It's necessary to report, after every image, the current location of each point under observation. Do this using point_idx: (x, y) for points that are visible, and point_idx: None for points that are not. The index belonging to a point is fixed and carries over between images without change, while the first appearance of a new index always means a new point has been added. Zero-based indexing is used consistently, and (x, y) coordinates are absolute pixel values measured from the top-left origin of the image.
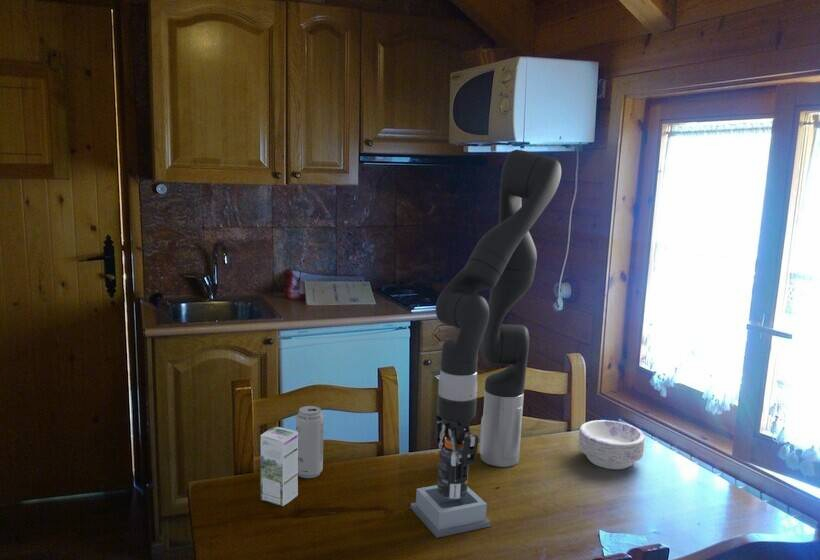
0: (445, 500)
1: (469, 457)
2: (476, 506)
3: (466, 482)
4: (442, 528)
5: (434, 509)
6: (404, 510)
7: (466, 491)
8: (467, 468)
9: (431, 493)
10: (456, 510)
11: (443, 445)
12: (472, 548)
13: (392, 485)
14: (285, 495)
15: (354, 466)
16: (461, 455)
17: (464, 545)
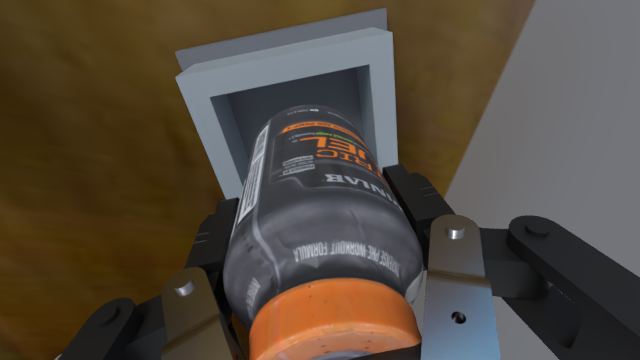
0: (237, 130)
1: (537, 272)
2: (393, 82)
3: (360, 140)
4: None
5: None
6: None
7: (345, 118)
8: (450, 208)
9: None
10: (397, 158)
11: (237, 337)
12: (463, 109)
13: (112, 232)
14: None
15: (10, 299)
16: (418, 276)
17: (443, 125)
